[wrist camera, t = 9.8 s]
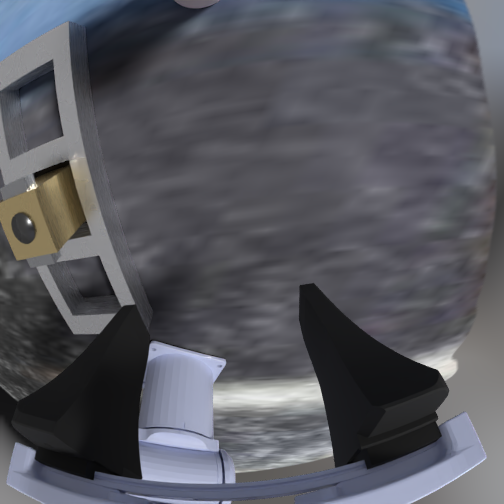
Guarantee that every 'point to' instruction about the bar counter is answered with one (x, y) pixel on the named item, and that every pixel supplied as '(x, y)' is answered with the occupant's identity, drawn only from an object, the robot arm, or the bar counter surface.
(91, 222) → the rail
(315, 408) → the bar counter surface
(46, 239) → the drilled wooden block
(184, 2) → the smoothie
